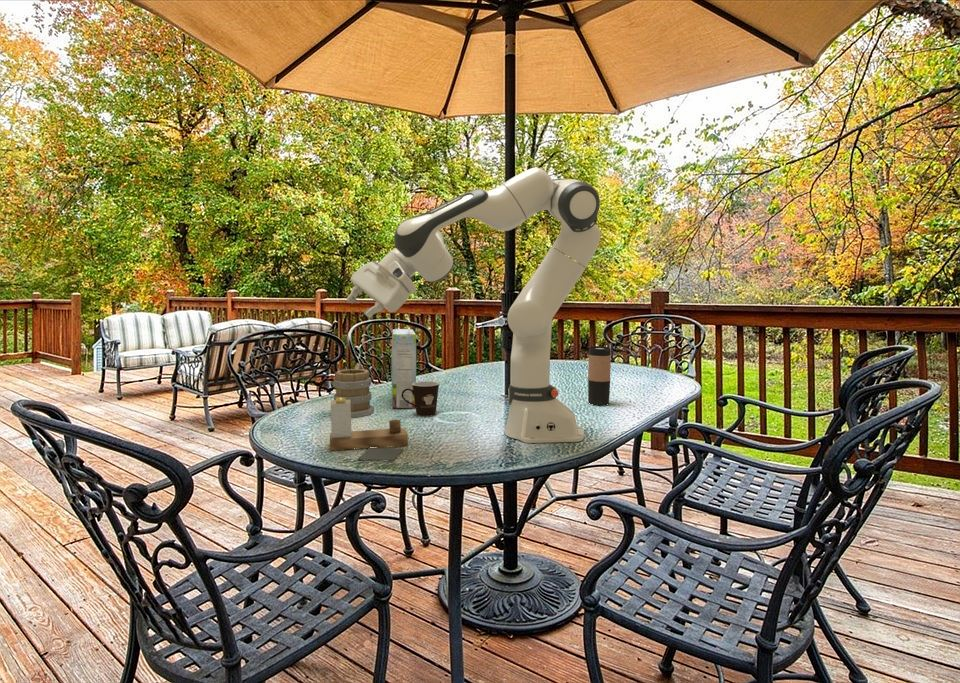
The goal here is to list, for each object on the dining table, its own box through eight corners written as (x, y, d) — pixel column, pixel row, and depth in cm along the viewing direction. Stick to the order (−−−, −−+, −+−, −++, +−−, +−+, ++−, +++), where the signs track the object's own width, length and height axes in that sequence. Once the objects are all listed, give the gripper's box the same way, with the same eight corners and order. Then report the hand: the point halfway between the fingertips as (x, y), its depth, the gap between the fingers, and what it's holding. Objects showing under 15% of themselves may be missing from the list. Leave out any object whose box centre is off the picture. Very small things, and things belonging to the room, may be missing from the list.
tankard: (368, 417, 178) (367, 371, 177) (328, 417, 179) (327, 371, 177) (380, 403, 198) (379, 362, 196) (345, 403, 198) (343, 362, 197)
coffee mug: (441, 410, 187) (441, 381, 186) (436, 417, 179) (436, 386, 178) (407, 410, 188) (406, 380, 187) (401, 416, 180) (400, 385, 179)
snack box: (418, 408, 191) (417, 333, 188) (392, 409, 189) (390, 334, 186) (415, 395, 212) (413, 328, 209) (391, 396, 211) (390, 328, 208)
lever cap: (351, 432, 151) (350, 395, 150) (351, 437, 146) (350, 399, 145) (332, 433, 150) (331, 396, 149) (331, 438, 145) (330, 400, 144)
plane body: (405, 438, 155) (404, 417, 155) (407, 445, 149) (407, 423, 148) (330, 443, 151) (330, 421, 150) (330, 451, 144) (329, 428, 143)
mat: (403, 450, 145) (403, 448, 145) (393, 461, 136) (393, 460, 136) (369, 449, 146) (369, 447, 146) (357, 460, 137) (357, 458, 137)
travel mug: (587, 401, 202) (588, 346, 199) (608, 401, 201) (610, 346, 198) (588, 405, 194) (589, 348, 192) (610, 406, 193) (612, 349, 191)
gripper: (368, 251, 155) (332, 286, 153) (408, 277, 141) (369, 316, 139) (380, 265, 160) (346, 300, 157) (420, 292, 146) (383, 330, 144)
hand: (357, 308), depth 148 cm, fingers open, 8 cm apart
